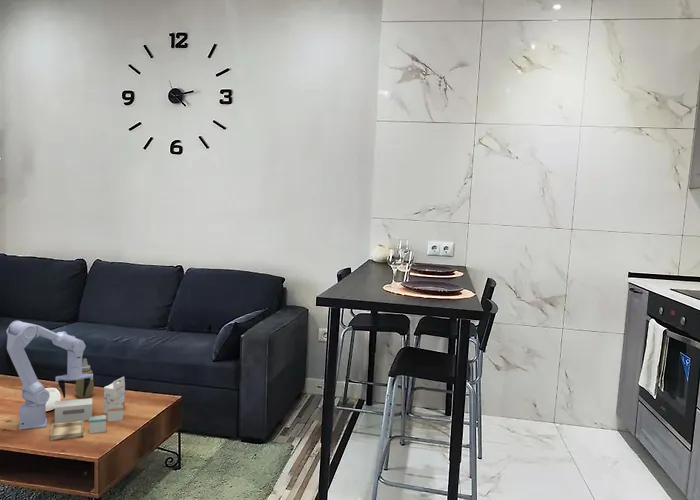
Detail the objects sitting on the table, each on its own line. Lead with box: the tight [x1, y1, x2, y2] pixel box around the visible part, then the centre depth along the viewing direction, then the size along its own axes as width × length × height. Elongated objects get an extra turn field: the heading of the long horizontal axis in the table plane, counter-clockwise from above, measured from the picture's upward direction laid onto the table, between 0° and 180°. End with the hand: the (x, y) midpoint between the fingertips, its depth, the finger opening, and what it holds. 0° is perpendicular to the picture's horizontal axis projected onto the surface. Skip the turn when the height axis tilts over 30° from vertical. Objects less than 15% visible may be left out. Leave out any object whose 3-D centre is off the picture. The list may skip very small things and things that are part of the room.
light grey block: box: [106, 404, 124, 423], centre depth 239 cm, size 6×4×6 cm
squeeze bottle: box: [74, 358, 95, 399], centre depth 262 cm, size 8×8×18 cm
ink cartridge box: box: [103, 376, 126, 414], centre depth 248 cm, size 9×5×15 cm, turn 168°
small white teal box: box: [88, 414, 107, 434], centre depth 228 cm, size 6×4×6 cm
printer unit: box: [54, 397, 93, 424], centre depth 237 cm, size 14×8×7 cm, turn 115°
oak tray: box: [49, 421, 85, 442], centre depth 224 cm, size 12×12×2 cm
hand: (74, 396), depth 244 cm, fingers open, 7 cm apart
